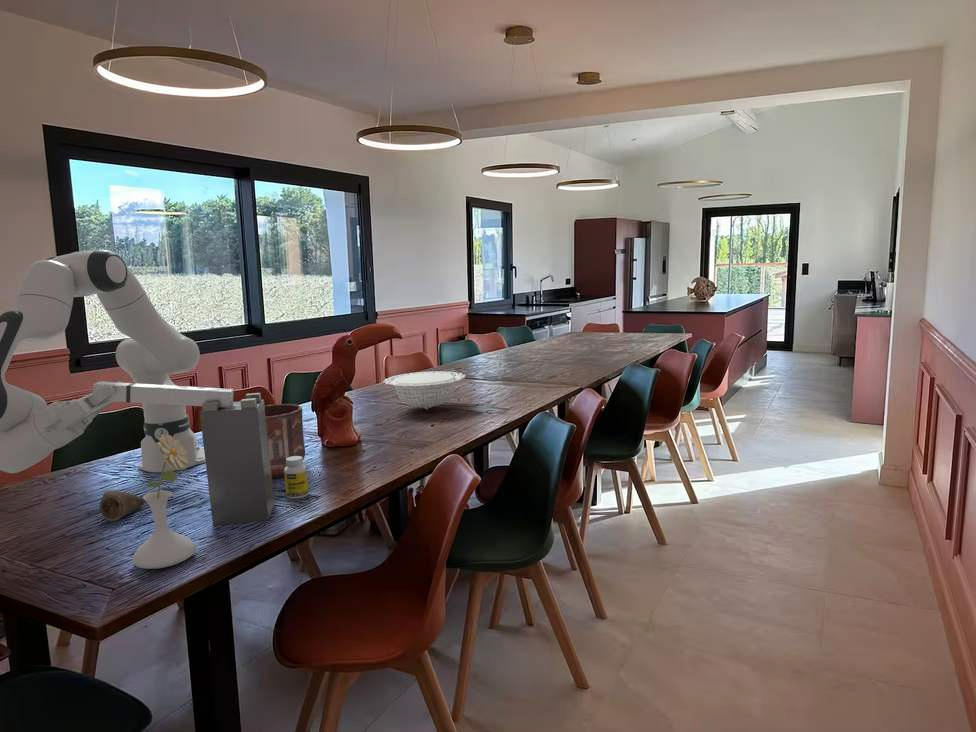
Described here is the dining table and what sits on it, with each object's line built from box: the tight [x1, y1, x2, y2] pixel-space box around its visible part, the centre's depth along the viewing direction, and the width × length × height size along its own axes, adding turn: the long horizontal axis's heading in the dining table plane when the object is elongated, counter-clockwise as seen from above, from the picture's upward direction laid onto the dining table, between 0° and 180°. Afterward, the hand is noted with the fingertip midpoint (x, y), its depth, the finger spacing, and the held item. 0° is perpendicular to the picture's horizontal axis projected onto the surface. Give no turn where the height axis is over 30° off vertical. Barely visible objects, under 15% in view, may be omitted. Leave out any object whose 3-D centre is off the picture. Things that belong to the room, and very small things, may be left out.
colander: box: [382, 370, 467, 411], centre depth 256 cm, size 32×32×13 cm
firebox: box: [199, 392, 275, 527], centre depth 152 cm, size 10×12×28 cm
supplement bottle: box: [284, 456, 309, 500], centre depth 165 cm, size 5×5×10 cm
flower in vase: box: [131, 434, 197, 570], centre depth 129 cm, size 13×11×25 cm
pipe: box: [98, 490, 145, 522], centre depth 160 cm, size 6×17×10 cm
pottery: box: [264, 403, 306, 479], centre depth 184 cm, size 18×18×18 cm
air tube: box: [92, 381, 235, 408], centre depth 147 cm, size 4×28×4 cm, turn 101°
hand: (117, 386), depth 145 cm, fingers closed on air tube, 4 cm apart
